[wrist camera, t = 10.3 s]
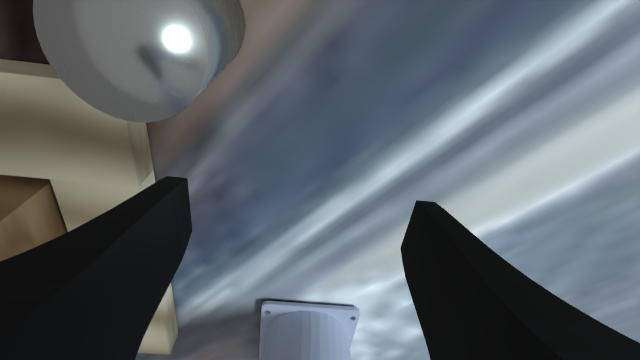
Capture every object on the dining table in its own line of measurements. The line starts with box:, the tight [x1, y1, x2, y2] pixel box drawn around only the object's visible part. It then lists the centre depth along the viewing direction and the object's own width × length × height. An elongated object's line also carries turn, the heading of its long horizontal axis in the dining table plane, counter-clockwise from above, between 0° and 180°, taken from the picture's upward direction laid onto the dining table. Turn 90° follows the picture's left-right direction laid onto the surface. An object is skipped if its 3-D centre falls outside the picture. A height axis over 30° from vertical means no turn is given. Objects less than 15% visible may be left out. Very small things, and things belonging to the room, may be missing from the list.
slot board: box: [0, 59, 179, 355], centre depth 22 cm, size 22×14×2 cm, turn 173°
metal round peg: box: [33, 0, 245, 123], centre depth 13 cm, size 5×5×7 cm
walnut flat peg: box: [0, 175, 68, 261], centre depth 19 cm, size 5×3×7 cm, turn 173°
